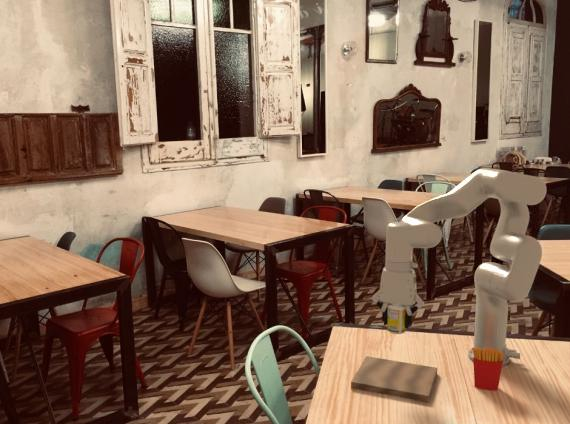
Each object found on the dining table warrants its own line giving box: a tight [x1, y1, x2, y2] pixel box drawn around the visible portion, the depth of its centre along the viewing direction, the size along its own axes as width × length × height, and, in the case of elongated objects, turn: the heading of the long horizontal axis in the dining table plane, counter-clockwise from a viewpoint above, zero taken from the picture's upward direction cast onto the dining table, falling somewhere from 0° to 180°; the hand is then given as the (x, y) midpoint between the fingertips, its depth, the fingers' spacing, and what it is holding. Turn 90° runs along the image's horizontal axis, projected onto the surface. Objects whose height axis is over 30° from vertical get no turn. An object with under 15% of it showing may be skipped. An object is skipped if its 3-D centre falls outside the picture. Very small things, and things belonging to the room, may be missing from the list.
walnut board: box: [350, 355, 438, 404], centre depth 165 cm, size 22×18×2 cm
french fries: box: [471, 347, 503, 392], centre depth 160 cm, size 8×4×12 cm, turn 71°
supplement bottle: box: [386, 304, 407, 335], centre depth 162 cm, size 6×6×10 cm
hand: (396, 324), depth 163 cm, fingers closed on supplement bottle, 5 cm apart
